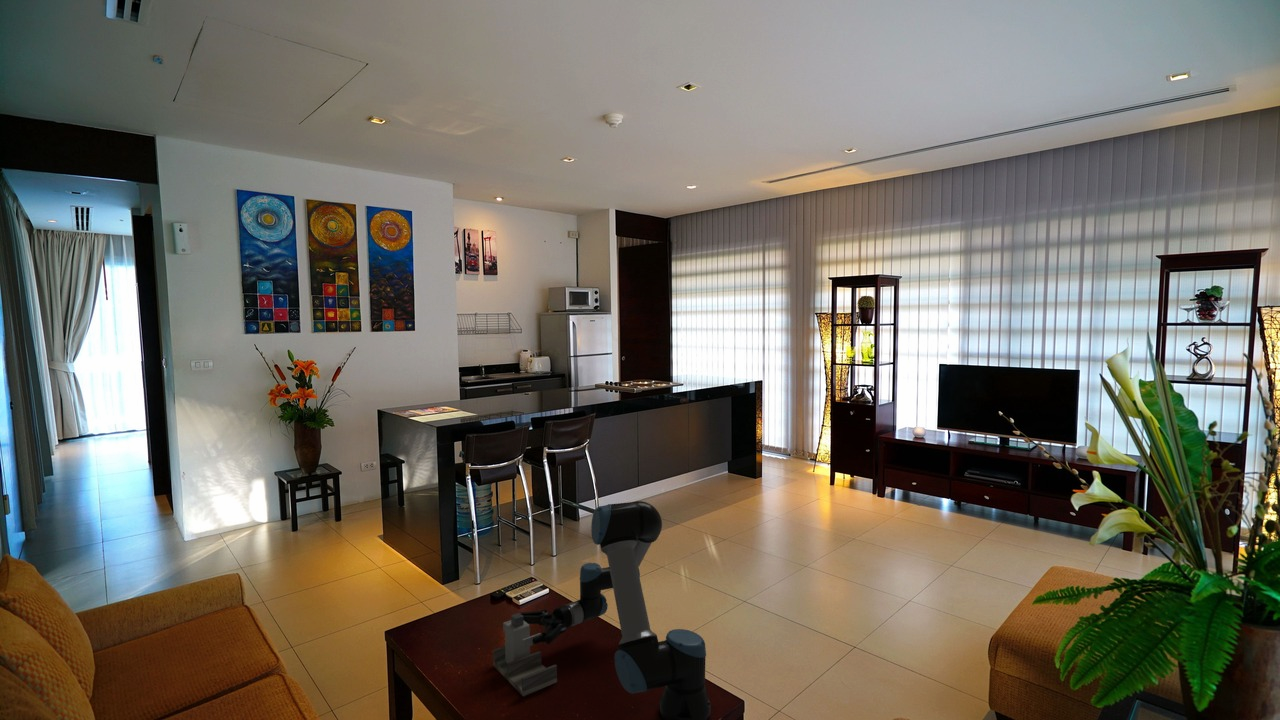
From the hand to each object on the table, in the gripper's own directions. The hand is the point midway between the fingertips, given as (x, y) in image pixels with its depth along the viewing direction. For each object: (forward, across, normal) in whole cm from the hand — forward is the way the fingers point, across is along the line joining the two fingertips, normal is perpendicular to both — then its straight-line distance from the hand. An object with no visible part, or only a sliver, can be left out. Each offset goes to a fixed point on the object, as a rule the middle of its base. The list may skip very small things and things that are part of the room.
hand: (513, 635), depth 201 cm
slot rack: (-1, -5, -12) cm, 13 cm away
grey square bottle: (-2, 0, -10) cm, 10 cm away
